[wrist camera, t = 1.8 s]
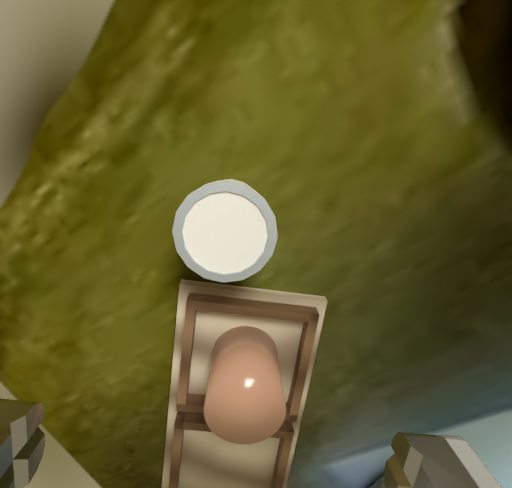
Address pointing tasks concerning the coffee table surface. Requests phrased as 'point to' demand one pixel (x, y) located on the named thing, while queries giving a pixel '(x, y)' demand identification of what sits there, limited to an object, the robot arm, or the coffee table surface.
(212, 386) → the tan rounded cylinder
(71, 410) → the coffee table surface
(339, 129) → the coffee table surface
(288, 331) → the divided wooden tray
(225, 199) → the white cylinder
